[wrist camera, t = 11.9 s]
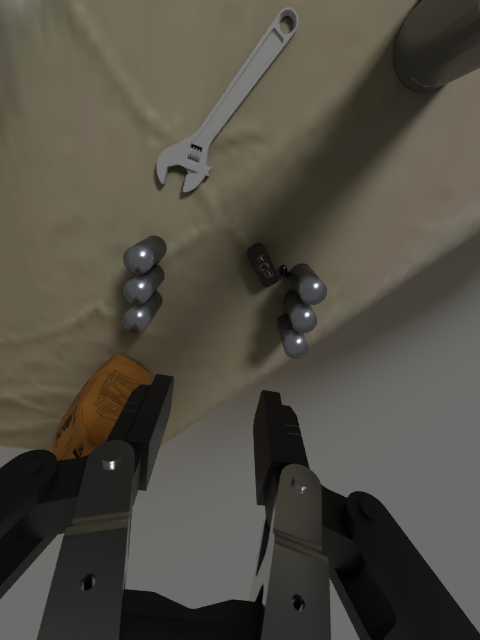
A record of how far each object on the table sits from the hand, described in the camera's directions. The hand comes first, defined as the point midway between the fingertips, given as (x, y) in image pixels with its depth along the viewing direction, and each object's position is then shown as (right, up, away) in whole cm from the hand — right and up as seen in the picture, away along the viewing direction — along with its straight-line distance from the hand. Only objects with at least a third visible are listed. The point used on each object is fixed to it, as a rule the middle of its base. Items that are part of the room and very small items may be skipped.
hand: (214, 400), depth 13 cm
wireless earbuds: (+6, +13, +35) cm, 38 cm away
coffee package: (-22, -8, +45) cm, 51 cm away
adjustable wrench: (-1, +31, +27) cm, 41 cm away
